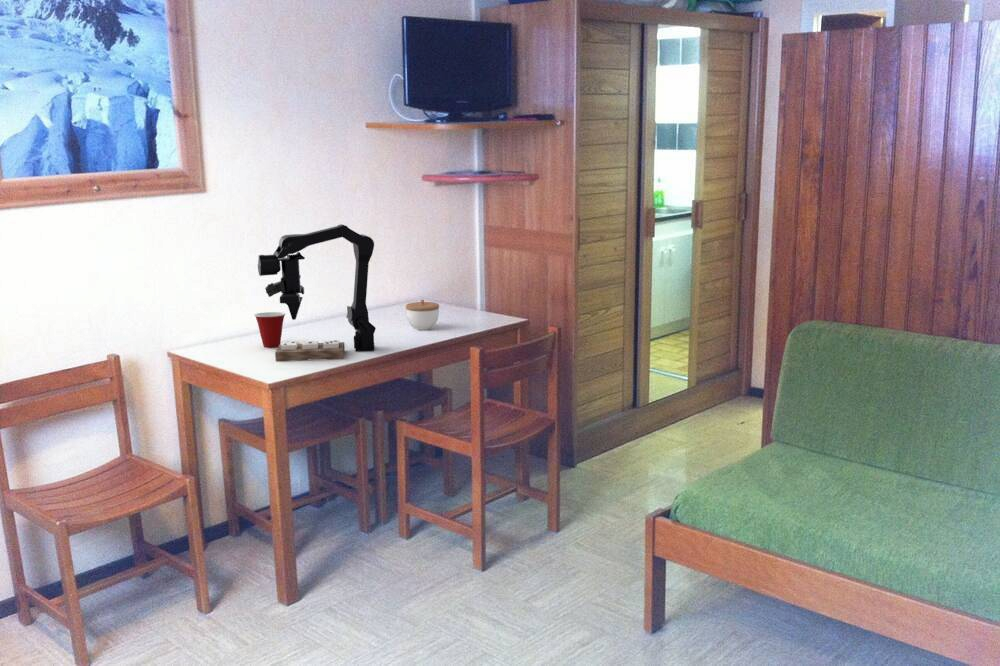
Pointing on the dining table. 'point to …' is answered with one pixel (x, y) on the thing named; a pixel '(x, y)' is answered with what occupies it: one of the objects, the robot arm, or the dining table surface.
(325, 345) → the three dot key
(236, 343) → the dining table surface
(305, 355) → the key panel
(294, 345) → the two dot key
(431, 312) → the lidded bowl
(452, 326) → the dining table surface
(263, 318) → the plastic cup
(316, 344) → the one dot key
